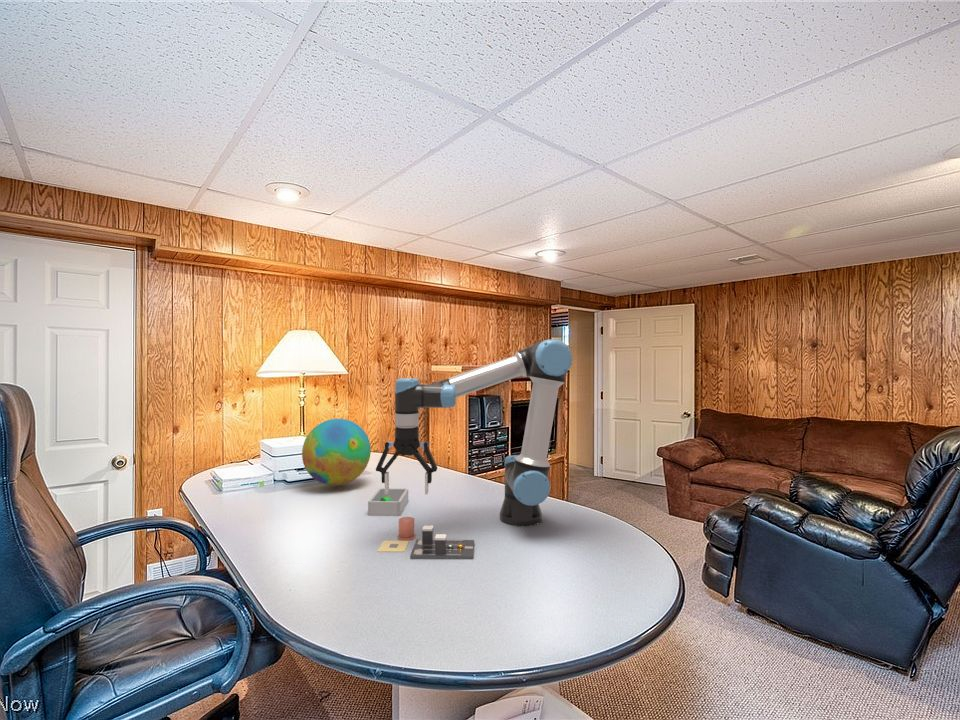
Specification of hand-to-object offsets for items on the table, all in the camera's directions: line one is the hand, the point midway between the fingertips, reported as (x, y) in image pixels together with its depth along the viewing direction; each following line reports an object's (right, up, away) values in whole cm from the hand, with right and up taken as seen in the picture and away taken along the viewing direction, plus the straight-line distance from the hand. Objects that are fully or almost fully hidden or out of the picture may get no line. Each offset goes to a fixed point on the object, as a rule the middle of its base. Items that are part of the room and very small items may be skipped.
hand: (406, 493), depth 150 cm
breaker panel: (+13, -15, -11) cm, 22 cm away
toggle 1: (+8, -13, -8) cm, 17 cm away
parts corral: (-12, -14, +30) cm, 35 cm away
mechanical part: (-11, -17, +21) cm, 29 cm away
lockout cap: (0, -15, 0) cm, 15 cm away
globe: (-42, -14, +64) cm, 78 cm away
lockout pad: (-3, -14, -8) cm, 17 cm away
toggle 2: (+12, -13, -15) cm, 23 cm away
